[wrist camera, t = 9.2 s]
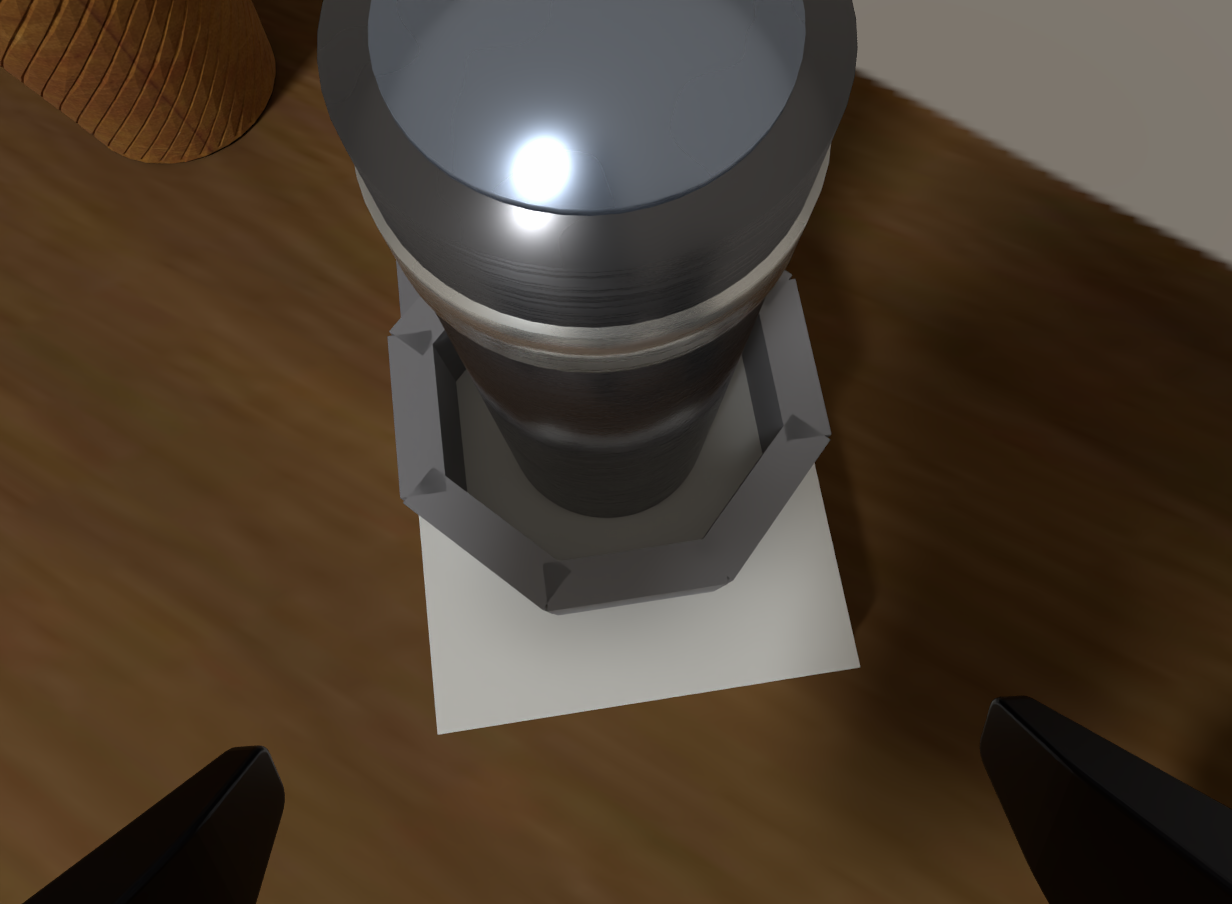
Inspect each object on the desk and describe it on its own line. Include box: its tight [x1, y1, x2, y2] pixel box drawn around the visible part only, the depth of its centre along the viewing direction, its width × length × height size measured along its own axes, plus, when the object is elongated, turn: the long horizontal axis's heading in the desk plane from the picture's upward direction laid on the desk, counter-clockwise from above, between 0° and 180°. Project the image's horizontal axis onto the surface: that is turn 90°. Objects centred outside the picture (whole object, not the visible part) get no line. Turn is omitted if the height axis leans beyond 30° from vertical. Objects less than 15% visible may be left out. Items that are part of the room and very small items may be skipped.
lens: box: [317, 0, 857, 518], centre depth 13 cm, size 5×5×13 cm
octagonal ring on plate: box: [388, 260, 860, 734], centre depth 19 cm, size 14×10×4 cm
